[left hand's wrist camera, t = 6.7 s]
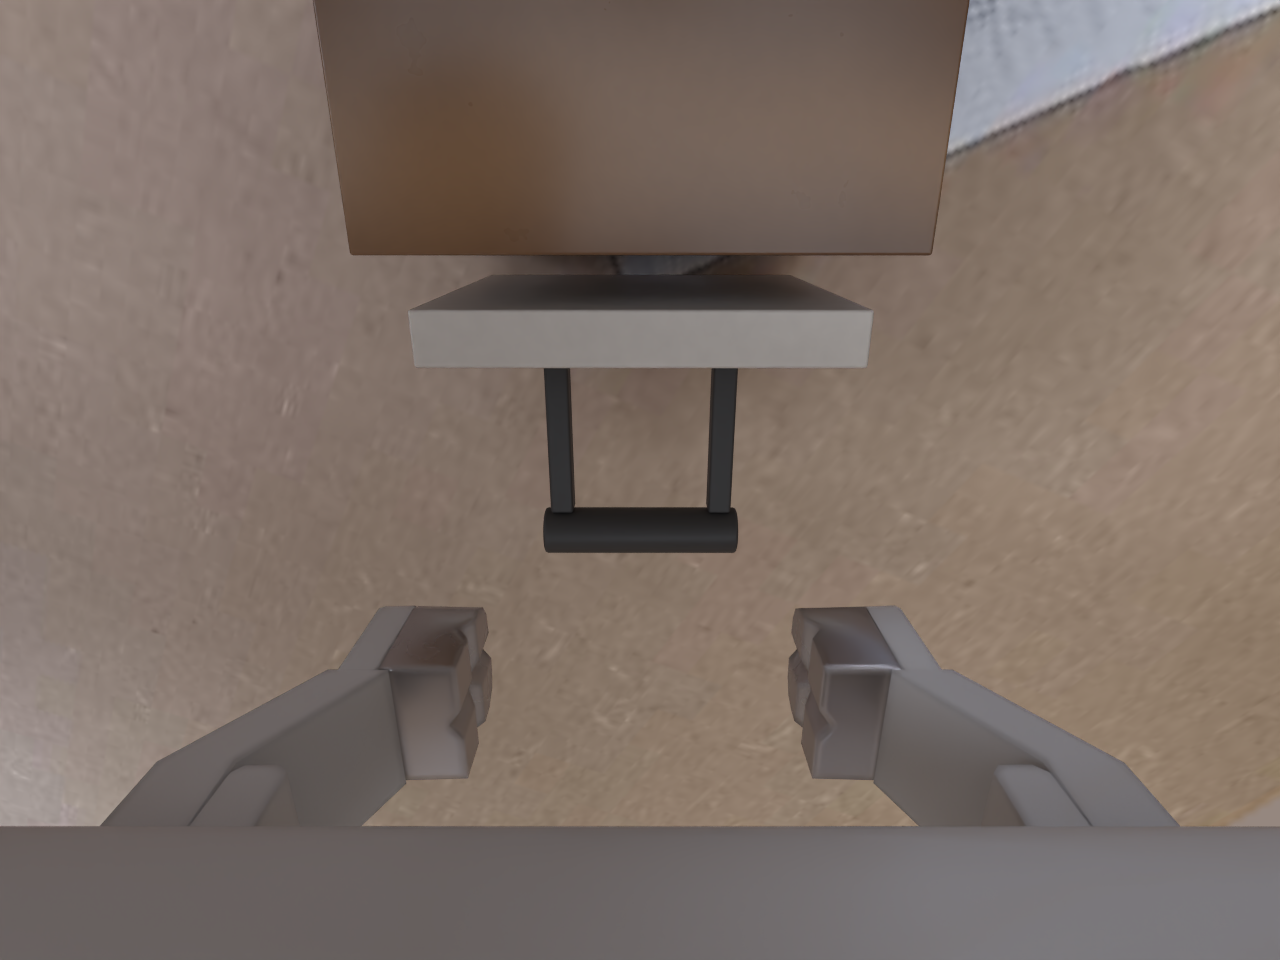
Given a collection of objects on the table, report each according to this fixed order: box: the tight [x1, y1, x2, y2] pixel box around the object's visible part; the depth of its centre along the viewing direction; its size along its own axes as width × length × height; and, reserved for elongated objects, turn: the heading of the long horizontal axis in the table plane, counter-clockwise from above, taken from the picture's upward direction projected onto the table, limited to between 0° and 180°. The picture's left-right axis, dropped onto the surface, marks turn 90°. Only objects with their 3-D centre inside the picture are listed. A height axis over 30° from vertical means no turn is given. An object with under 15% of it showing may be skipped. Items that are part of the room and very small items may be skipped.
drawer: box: [408, 275, 874, 553], centre depth 16 cm, size 23×10×8 cm, turn 0°
